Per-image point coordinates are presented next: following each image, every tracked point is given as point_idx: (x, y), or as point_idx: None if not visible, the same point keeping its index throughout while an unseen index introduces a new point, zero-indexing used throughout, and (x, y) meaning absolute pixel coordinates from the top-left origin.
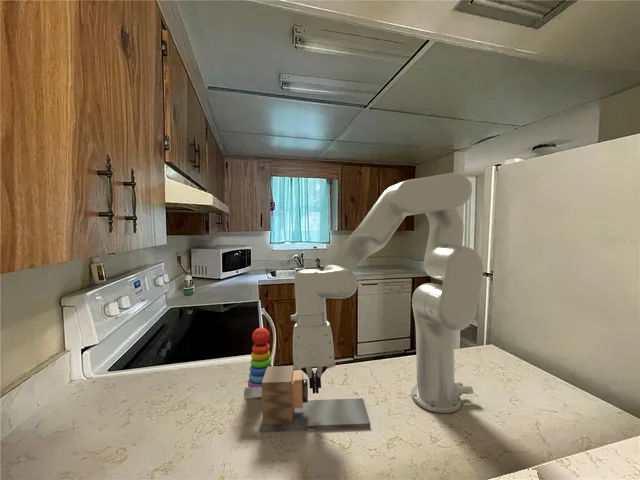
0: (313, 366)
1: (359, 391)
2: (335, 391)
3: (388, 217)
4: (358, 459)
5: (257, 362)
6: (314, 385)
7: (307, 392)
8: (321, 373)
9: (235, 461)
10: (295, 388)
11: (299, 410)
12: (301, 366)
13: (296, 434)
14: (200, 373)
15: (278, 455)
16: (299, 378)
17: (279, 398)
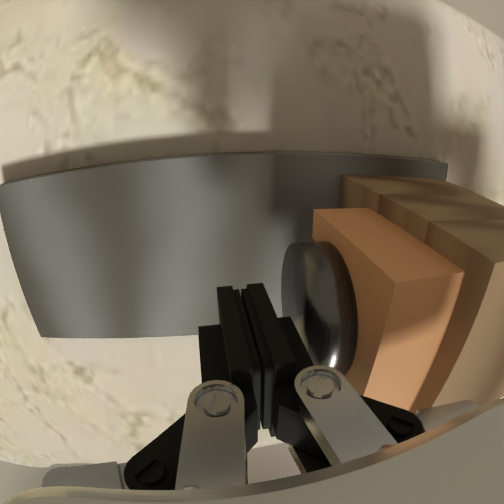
0: (332, 482)
1: (72, 379)
2: (157, 385)
3: None
4: (61, 12)
5: None
6: (256, 321)
7: (295, 305)
8: (190, 415)
9: (472, 54)
10: (418, 256)
11: None
12: (490, 420)
13: (314, 128)
14: None
15: (370, 33)
16: (397, 352)
17: (466, 210)
